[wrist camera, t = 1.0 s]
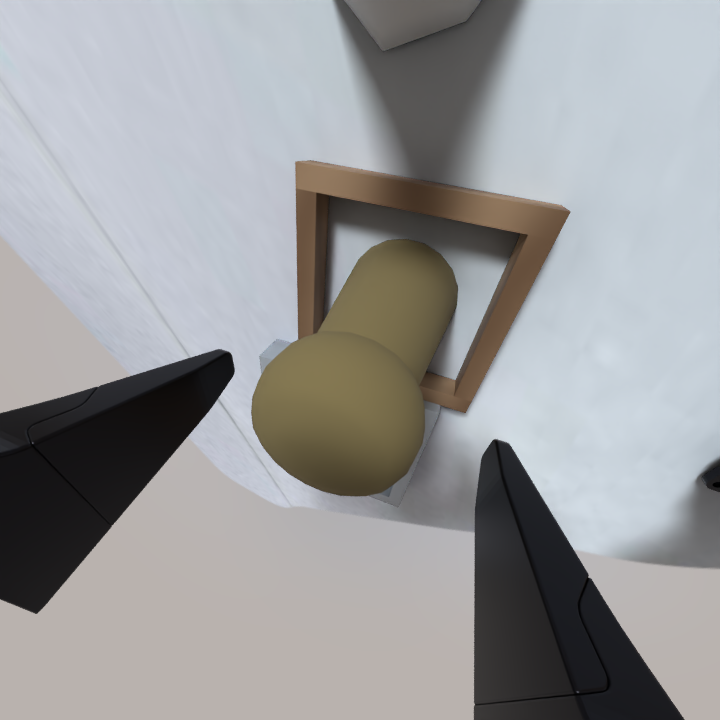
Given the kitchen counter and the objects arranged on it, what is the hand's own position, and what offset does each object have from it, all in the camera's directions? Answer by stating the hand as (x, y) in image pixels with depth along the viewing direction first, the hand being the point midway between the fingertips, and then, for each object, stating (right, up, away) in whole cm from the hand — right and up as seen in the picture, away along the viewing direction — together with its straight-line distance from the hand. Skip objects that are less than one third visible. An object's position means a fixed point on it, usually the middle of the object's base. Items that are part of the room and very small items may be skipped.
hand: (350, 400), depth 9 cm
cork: (+3, +5, +7) cm, 9 cm away
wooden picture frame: (+3, +5, +6) cm, 9 cm away
